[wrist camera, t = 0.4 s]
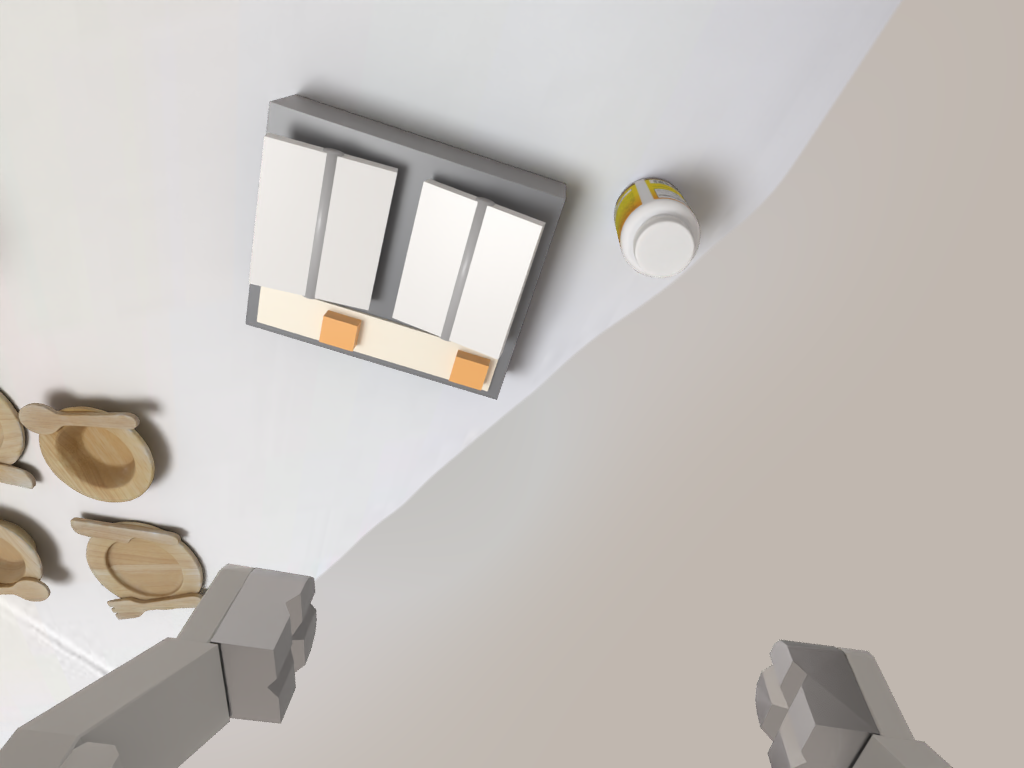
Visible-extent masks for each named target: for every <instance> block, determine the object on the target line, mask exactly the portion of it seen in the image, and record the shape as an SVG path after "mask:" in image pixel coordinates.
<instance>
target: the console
mask: <svg viewBox="0 0 1024 768" xmlns="http://www.w3.org/2000/svg"><path fill="white" fill-rule="evenodd" d="M268 132H269V133H272V134H276V135H279V136H283V137H287V138H290V139H294V140H297V141H301V142H305V143H308V144H312V145H315V146H319V147H323V148H333V149H336V150H339V151H341V152H343V153H344V154H348V155H351V156H355V157H359V158H362V159H366V160H369V161H373V162H377V163H380V164H384V165H387V166H391V167H394V168H398V172H397V177H396V181H395V186H394V191H393V196H392V200H391V205H390V210H389V215H388V219H387V224H386V229H385V234H384V239H383V243H382V248H381V253H380V258H379V262H378V267H377V272H376V277H375V281H374V286H373V291H372V296H371V301H370V305H369V310H364V309H360V308H355V307H351V306H347V305H342V304H338V303H333V302H329V301H325V300H320V299H308V298H305V297H304V296H302V295H298V294H294V293H289V292H285V291H280V290H276V289H271V288H267V287H263V286H258V285H254V284H250V288H249V297H248V306H247V315H246V324H247V325H251V326H254V327H257V328H261V329H264V330H267V331H270V332H274V333H277V334H280V335H284V336H287V337H290V338H294V339H297V340H300V341H304V342H307V343H310V344H314V345H317V346H320V347H324V348H327V349H330V350H334V351H337V352H340V353H343V354H347V355H350V356H353V357H357V358H360V359H363V360H367V361H370V362H373V363H377V364H380V365H383V366H387V367H390V368H393V369H397V370H400V371H403V372H406V373H410V374H413V375H416V376H420V377H423V378H426V379H430V380H433V381H436V382H440V383H443V384H446V385H450V386H453V387H456V388H460V389H463V390H466V391H470V392H473V393H476V394H479V395H483V396H486V397H489V398H493V399H496V400H497V398H498V395H499V392H500V389H501V386H502V383H503V380H504V377H505V375H506V372H507V369H508V366H509V363H510V360H511V357H512V354H513V351H514V348H515V345H516V343H517V340H518V337H519V334H520V331H521V328H522V325H523V322H524V319H525V316H526V313H527V310H528V308H529V305H530V302H531V299H532V296H533V293H534V290H535V287H536V284H537V281H538V278H539V276H540V273H541V270H542V267H543V264H544V261H545V258H546V255H547V252H548V249H549V246H550V244H551V241H552V238H553V235H554V232H555V229H556V226H557V223H558V220H559V217H560V214H561V211H562V209H563V206H564V203H565V200H566V184H564V183H561V182H558V181H555V180H552V179H549V178H546V177H543V176H540V175H537V174H534V173H531V172H528V171H525V170H522V169H519V168H516V167H513V166H510V165H507V164H504V163H501V162H498V161H495V160H492V159H489V158H486V157H483V156H480V155H477V154H474V153H471V152H468V151H465V150H462V149H459V148H455V147H452V146H449V145H446V144H443V143H440V142H437V141H434V140H431V139H428V138H425V137H422V136H419V135H416V134H413V133H410V132H407V131H404V130H401V129H398V128H395V127H392V126H389V125H386V124H383V123H380V122H377V121H374V120H371V119H368V118H365V117H362V116H359V115H356V114H353V113H350V112H347V111H344V110H341V109H338V108H335V107H332V106H329V105H326V104H323V103H320V102H317V101H314V100H310V99H307V98H304V97H301V96H298V95H292V96H288V97H285V98H281V99H277V100H274V101H270V102H269V111H268V120H267V130H266V134H267V133H268ZM428 179H432V180H434V181H437V182H439V183H442V184H445V185H447V186H450V187H453V188H455V189H458V190H461V191H463V192H466V193H469V194H471V195H474V196H476V197H483V198H487V199H489V200H491V201H493V202H494V203H495V204H498V205H500V206H503V207H506V208H508V209H511V210H514V211H516V212H519V213H521V214H524V215H527V216H529V217H532V218H535V219H537V220H540V221H543V222H545V226H544V229H543V232H542V235H541V238H540V241H539V244H538V247H537V250H536V253H535V256H534V259H533V262H532V265H531V268H530V271H529V274H528V277H527V280H526V283H525V286H524V289H523V292H522V295H521V298H520V301H519V304H518V307H517V310H516V313H515V316H514V319H513V322H512V325H511V328H510V331H509V334H508V337H507V340H506V343H505V346H504V349H503V352H502V354H501V356H500V357H499V359H498V360H497V359H495V358H492V357H490V356H487V355H485V354H482V353H480V352H477V351H475V350H472V349H470V348H467V347H465V346H462V345H460V344H457V343H455V342H452V341H451V342H450V341H445V340H443V339H441V338H440V337H439V336H437V335H434V334H432V333H429V332H427V331H424V330H422V329H419V328H417V327H414V326H412V325H409V324H407V323H404V322H402V321H399V320H397V319H394V318H392V316H393V312H394V308H395V303H396V299H397V295H398V290H399V286H400V282H401V277H402V273H403V269H404V264H405V260H406V256H407V251H408V247H409V243H410V239H411V234H412V230H413V226H414V221H415V217H416V213H417V208H418V204H419V200H420V195H421V191H422V187H423V182H424V181H426V180H428Z"/></svg>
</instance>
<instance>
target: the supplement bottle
mask: <svg viewBox="0 0 1024 768" xmlns="http://www.w3.org/2000/svg"><path fill="white" fill-rule="evenodd" d="M614 221H615V226H616V230H617V234H618V239H619V243H620V247H621V250H622V253H623V256H624V258H625V260H626V261H627V263H628V264H629V265H630V266H631V267H632V268H633V269H634V270H636V271H637V272H639V273H641V274H643V275H646V276H650V277H658V278H667V277H671V276H674V275H676V274H678V273H680V272H681V271H683V270H684V269H685V268H686V267H687V266H688V265H689V263H690V261H691V260H692V259H693V257H694V256H695V254H696V252H697V250H698V247H699V243H700V227H699V224H698V221H697V219H696V217H695V215H694V213H693V212H692V210H691V209H690V207H689V206H688V204H687V203H686V201H685V200H684V198H683V197H682V195H681V194H680V192H679V191H678V189H676V188H675V187H674V186H673V185H672V184H671V183H669V182H667V181H665V180H663V179H659V178H645V179H641V180H638V181H636V182H634V183H632V184H631V185H629V186H628V187H627V188H626V189H625V190H624V191H623V192H622V193H621V195H620V196H619V198H618V200H617V202H616V205H615V210H614Z"/></svg>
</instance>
